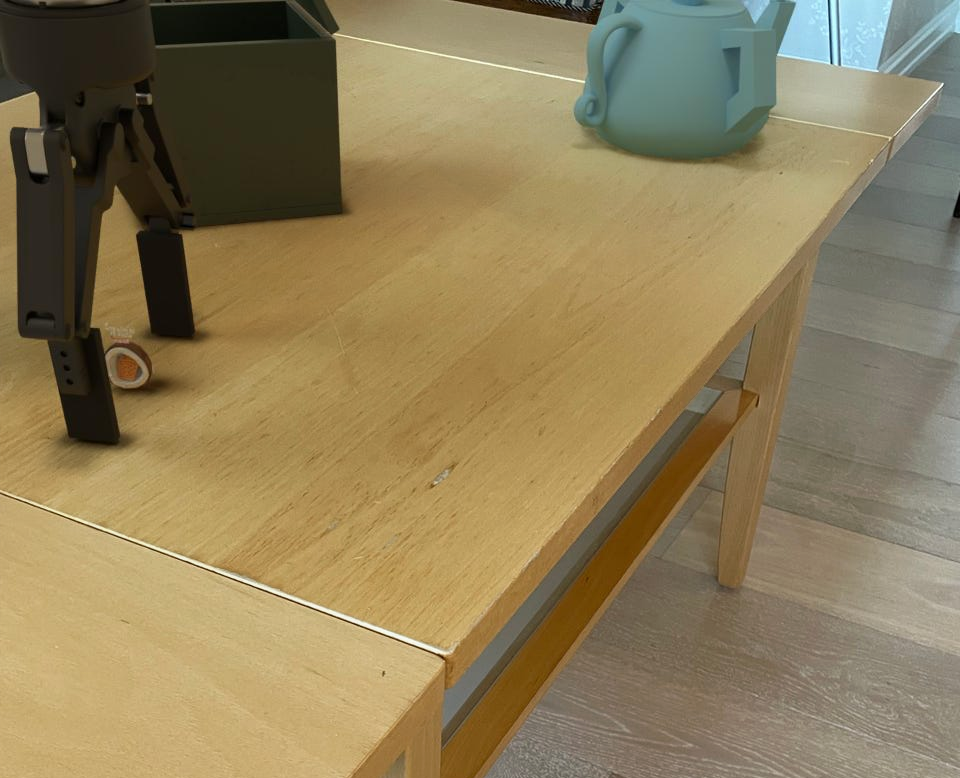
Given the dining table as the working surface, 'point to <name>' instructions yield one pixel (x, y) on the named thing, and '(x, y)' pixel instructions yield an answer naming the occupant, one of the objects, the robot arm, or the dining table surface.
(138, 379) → the chocolate
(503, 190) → the dining table surface
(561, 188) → the dining table surface
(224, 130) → the trash bin
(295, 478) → the dining table surface
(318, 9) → the bin lid
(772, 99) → the teapot
